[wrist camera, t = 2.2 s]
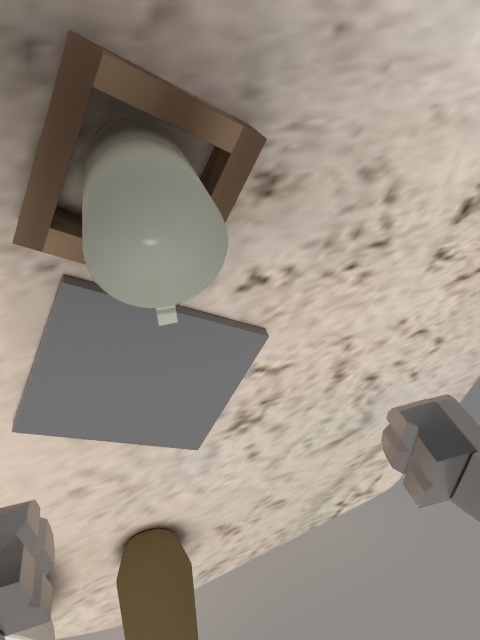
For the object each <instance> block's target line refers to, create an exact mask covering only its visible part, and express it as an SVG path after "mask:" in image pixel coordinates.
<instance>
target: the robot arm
mask: <svg viewBox="0 0 480 640" xmlns="http://www.w3.org/2000/svg"><path fill="white" fill-rule="evenodd" d="M386 419H387V420H388V422H389V423H390V424H389V425H388V426H387V427H386V428H385V429H384V430H383V434H382V445H383V451H384V453H385V455H386V458H387V460H388V461H389V463H390V464H391V466H392V468H394V469H395V470H397V471H399V472H401V473H402V474H403V485H404V486H405V488H406V489H407V491H408V492H409V494H410V495H411V497H412V499H413V500H414V502H415V503H416V505H417V506H418V508H422V507H425V506H429V505H433V504H436V503H440V502H443V501H447V500H451V499H452V500H451V502H452V503H454V504H455V505H456V506H458V507H459V508H461V509H462V510H464V511H465V512H467V513H468V514H469V515H471V516H472V517H474V518H475V519H476V520H478V521H479V522H480V425H478V423H477V422H476V421H475V420H474V419H473V418H472V417H471V416H470V415H469V413H468V412H467V411H466V410H465V409H464V408H463V407H462V406H461V405H460V404H459V403H458V401H457V400H456V399H455V398H454V397H452V396H450V395H448V394H447V395H441V396H438V397H434V398H430V399H424V400H420V401H417V402H413V403H409V404H406V405H402V406H399V407H395V408H392V409H391V410H390V411H388V414H387V418H386ZM54 550H55V549H54V539H53V533H52V529H51V526H50V524H49V522H48V520H47V519H44V518H41V517H40V507H39V505H38V504H37V502H36V501H35V500H31V501H27V502H23V503H19V504H15V505H10V506H6V507H2V508H0V640H5V638H4V637H6V636H9V635H12V634H15V633H18V632H21V631H24V630H27V629H30V628H33V627H36V626H39V625H41V624H44V623H47V622H50V617H51V602H52V587H53V586H52V585H51V583H50V582H49V580H48V579H47V577H46V575H47V574H48V572H49V571H50V569H51V568H52V566H53V564H54Z"/></svg>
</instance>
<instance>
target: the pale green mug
mask: <svg viewBox="0 0 480 640" xmlns="http://www.w3.org/2000/svg"><path fill="white" fill-rule="evenodd" d="M227 238H228V237H227V230H226V226H225V222H224V219H223V217H222V215H221V213H220V211H219V210H218V208H217V206H216V205H215V203H214V201H213V200H212V198H211V197H210V195H209V193H208V192H207V190H206V189H205V187H204V185H203V184H202V182H201V181H200V179H199V177H198V176H197V174H196V173H195V171H194V169H193V168H192V166H191V165H190V163H189V161H188V160H187V158H186V157H185V155H184V153H183V152H182V150H181V149H180V147H179V145H178V144H177V142H176V141H175V140H174V138H173V137H172V136H171V135H170V134H169V133H168V132H167V131H166V130H164V129H163V128H162V127H160V126H158V125H156V124H155V123H152V122H149V121H146V120H142V119H135V118H127V119H121V120H117V121H114V122H111V123H109V124H107V125H105V126H104V127H102V128H101V129H100V130H99V131H98V132H96V133H95V135H94V136H93V137H92V138H91V140H90V141H89V143H88V145H87V147H86V150H85V152H84V156H83V163H82V246H83V255H84V260H85V263H86V266H87V269H88V270H89V272H90V274H91V276H92V278H93V279H94V280H95V282H96V283H97V284H98V285H99V286H100V287H101V288H102V289H103V290H104V291H105V292H107V293H108V294H109V295H111V296H112V297H114V298H115V299H117V300H119V301H122V302H124V303H126V304H130V305H133V306H137V307H143V308H155V310H156V315H157V319H158V324H159V326H161V325H166V324H172V323H177V322H178V321H177V314H176V307H175V305H177V304H180V303H182V302H185V301H187V300H189V299H191V298H193V297H194V296H196V295H198V294H199V293H200V292H202V291H203V290H204V289H205V288H206V287H207V286H208V285H209V284H210V283H211V282H212V281H213V280H214V278H215V277H216V276H217V274H218V272H219V271H220V269H221V267H222V265H223V262H224V259H225V256H226V252H227Z"/></svg>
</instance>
